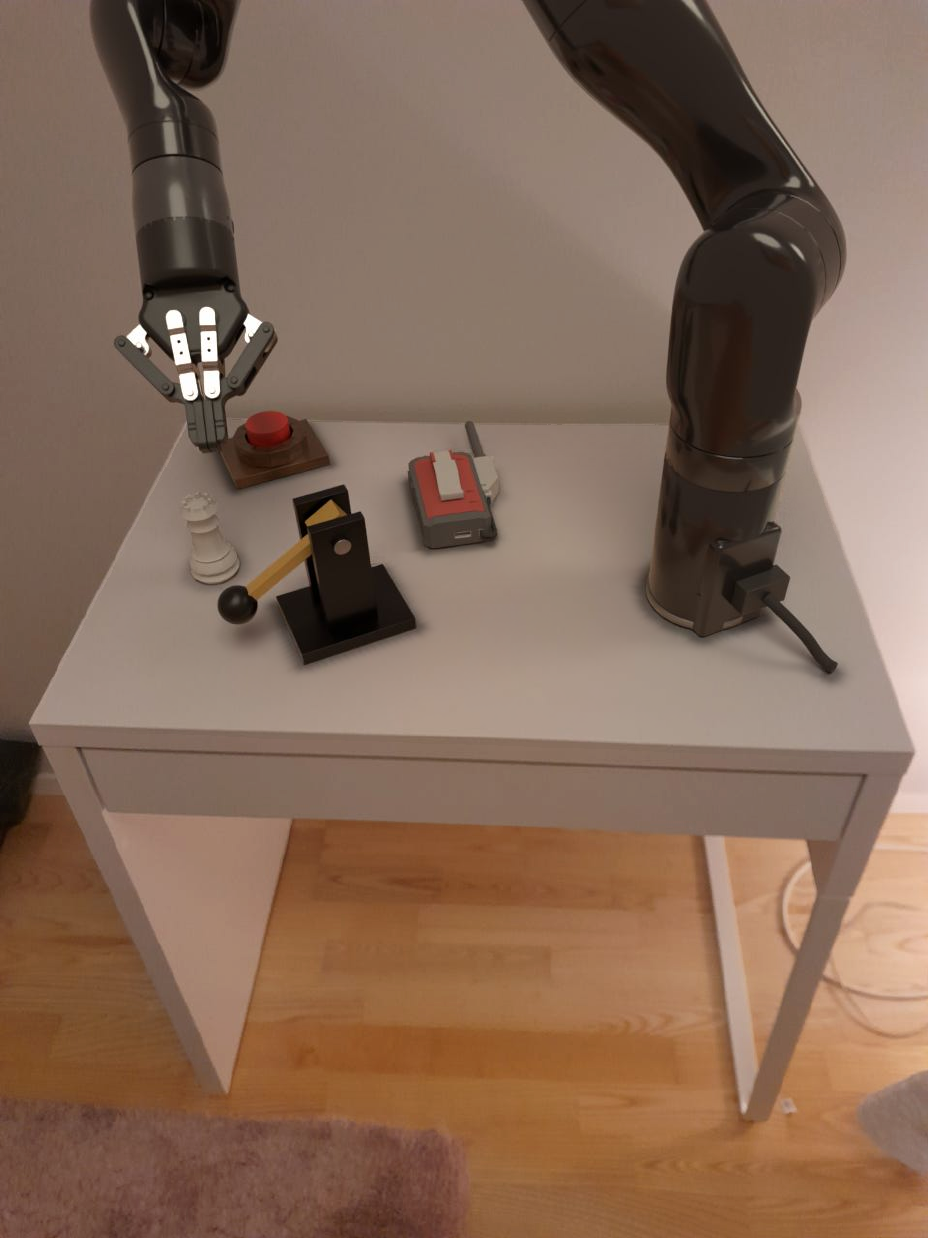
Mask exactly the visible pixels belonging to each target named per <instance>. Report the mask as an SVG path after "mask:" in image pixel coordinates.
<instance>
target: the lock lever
mask: <svg viewBox="0 0 928 1238" xmlns="http://www.w3.org/2000/svg"><path fill="white" fill-rule="evenodd" d="M345 515H347V514H346V513H345V512H344V511H343V510H342V509H341V508H340V507H339V506H338V505H337V504H335V503H334V502H333V501H332V500H330V501H328V502H327V503H326V504H325V505H324V506H323V507H321V508H320V509H319V510H318V511H317V512H315V513H314V514H313V515H312V516H311V517H310V518H308V519H307V520H306V521H305V523H306V525H307V526H311V525H314V524H317V523H321V522H324V521H328V520H331V519H335V518H338V517H342V516H345ZM311 554H312V552H311V546H310V541H309V536H308V534H307V535H306V536H305V537H303V538H302V539H301V540H300V539H299V541H297V542H296V543H295V544H294V545H293V546H292V547H290V548H289V549H288V550H287V551H285V553H284V554H282V555H281V556H280V557H279V558H277V559H276V560H275V561H274V562H272V564H270V565H269V566H268V567H267V568H266V569H264V570H263V571H261V573H259V575H257V576H256V577H255V578H254V579H253V580H251V581H249V583H248V584H247V585H246V586H244V585H239V584H236V585H231V586H228V587H226V588H224V590H222V592H221V593H220V594H219V596H218V597H217V601H216V602H217V603H216V607H217V612H218V614H219V616H220V618H222V619H223V621H225V622H226V623H228V624H230V625H234V626H235V625H237V626H238V625H240V626H241V625H244V624H247V623H249V622H250V621H251V620H253V619H254V617H255V616H256V615H257V612H258V609H259V602H258V600H259V599H261V598H262V597H263V596H264V595H265V594H266V593H267V592H269V591H270V590H271V589H272V588H273V587H275V586H276V585H277V584H278V583H279V582H281V581H282V580H283V579H284V578H285V577H287V576H288V575H289V574H290V573H291V572H293V571H294V570H295V569H296V568H297V567H298V566H299V565H301V564H302V563H303V562H305V561H304V560H305V559H307V558H308V557H309V556H310V555H311Z"/></svg>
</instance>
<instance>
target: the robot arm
mask: <svg viewBox="0 0 928 1238" xmlns="http://www.w3.org/2000/svg"><path fill="white" fill-rule="evenodd" d="M520 1H521V2H522V4H523V6H524V8H525V9H526V11H527V13H528V14H529V16H530V18H531V20H532V21H533V23H534V25H535V26H536V28H537V30H538V31H539V33H540V34H541V37H542V38H543V41H545V43H546V45H547V47H548V48H549V49H550V51H551V53H552V54H553V56H554V57H555V59H556V60H557V62H558V63H559V65H560V66H561V67H562V69H564V71H565V72H566V74H568V76H569V78H571V80H572V81H573V82H574V83H575V84H576V85H577V86H578V87H579V88H580V89H581V90H582V91H583V92H584V93H585V94H587V95H588V96H589V97H590V98H591V99H592V100H593V101H595V103H597V104H598V105H599V106H600V107H601V108H602V109H604V110H605V111H606V112H607V113H609V114H610V115H611V116H613V117H614V118H615V120H617V121H618V122H620V123H621V124H622V125H624V126H625V127H626V128H627V129H629V130H630V131H631V132H632V133H634V134H635V135H636V136H637V137H638V138H639V139H641V140H642V141H643V142H644V143H645V144H646V145H647V146H649V148H650V149H652V151H653V152H654V153H655V154H656V155H658V157H659V159H661V161H662V162H663V163H664V164H665V166H666V167H667V168H668V170H669V171H670V172H671V174H672V175H673V177H674V179H675V180H676V182H677V183H678V184H679V187H680V189H681V190H682V192H683V194H684V195H685V197H686V200H687V201H688V203H689V205H690V206H691V209H692V210H693V212H694V214H695V217H696V218H697V221H698V223H699V225H700V227H701V229H702V231H703V232H702V233H701V234H700V235H698V237H697V238H696V239H694V241H693V242H692V244H691V245H690V246H689V247H688V249H687V250H686V253H685V254H684V256H683V258H682V260H681V262H680V266H679V269H678V272H677V275H676V280H675V285H674V289H673V295H672V296H673V297H672V303H671V312H670V324H669V333H668V335H669V336H668V347H667V360H666V372H665V386H666V392H667V395H668V399H669V402H670V414H669V421H668V428H667V436H666V445H665V452H664V458H663V466H662V474H661V479H660V486H659V487H660V488H659V496H658V503H657V509H656V519H655V526H654V532H653V540H652V547H651V557H650V565H649V573H648V575H647V578H646V585H645V586H646V588H645V593H646V597H647V599H648V602H649V604H650V605H651V607H652V608H653V609H654V610H655V611H656V613H658V614H659V615H660V616H662V618H664V619H666V620H668V621H669V622H671V623H673V624H675V625H678V626H681V627H684V628H687V629H691V630H693V631H694V632H695V633H696V634H697V635H698V636H699V637H706V636H709V635H711V634H714V633H717V632H720V631H723V630H726V629H729V628H732V627H735V626H737V625H740V624H741V623H745V622H747V621H751V620H753V619H756V618H759V617H760V616H761V615H762V613H763V609H764V608H768V609H769V610H770V611H771V612H773V613H774V615H776V616H777V618H779V619H780V620H781V621H782V622H783V623H784V624H785V625H786V626H787V627H788V628H789V629H790V630H791V632H793V634H794V635H795V636H796V637H797V638H798V639H799V640H800V642H802V644H803V645H804V646H805V648H806V650H807V651H808V652H809V654H810V655H811V656H812V658H813V660H815V662H816V663H817V664H819V666H820V667H821V668H823V670H824V671H827V672H829V673H833V672H835V670H836V669H837V667H838V662H837V661H835V660H833V659H832V658H831V657H829V655H828V654H826V652H825V651H824V650H823V648H822V647H821V646H820V644H819V642H818V641H817V640H816V639H815V637H814V636H813V634H812V633H811V632H810V631H809V629H807V628H806V626H805V625H804V624H803V623H802V622H801V621H800V620H799V619H798V618H797V617H796V616H795V615H794V614H793V613H792V612H791V610H789V609H788V608H787V607H785V605H784V604H783V603H781V602H783V601H785V598H786V595H787V592H788V588H789V585H790V580H791V576H790V575H789V574H788V573H787V572H785V570H784V569H782V568H781V567H780V566H779V565H778V564H775V560H776V555H777V552H778V548H779V543H780V540H781V537H782V532H783V528H782V526H780V525H779V523H777V522H776V521H775V520H776V515H777V511H778V507H779V503H780V499H781V495H782V491H783V487H784V483H785V478H786V474H787V470H788V466H789V462H790V458H791V454H792V450H793V446H794V442H795V437H796V433H797V430H798V426H799V422H800V418H801V414H802V408H803V406H802V405H803V400H802V396H801V393H800V391H799V389H798V388H797V387H798V382H799V377H800V372H801V368H802V363H803V358H804V354H805V351H806V345H807V341H808V338H809V337H808V336H809V333H810V330H811V326H812V322H813V321H814V320H815V318H816V317H817V316H818V315H819V313H820V312H821V311H822V310H823V308H824V307H825V306H826V304H827V303H828V302H829V301H830V299H831V298H832V296H833V295H834V294H835V292H836V290H838V287H839V286H840V284H841V281H842V279H843V276H844V273H845V269H846V265H847V257H848V249H847V239H846V234H845V230H844V227H843V224H842V221H841V220H840V217H839V215H838V213H837V212H836V210H835V208H834V206H833V204H832V203H831V201H830V200H829V198H828V196H827V194H826V193H825V192H824V191H823V189H822V188H821V186H820V185H819V184H818V182H817V180H816V179H815V178H814V176H813V175H812V173H811V172H810V171H809V170H808V168H807V166H806V165H805V164H804V163H803V161H802V160H801V158H800V157H799V155H798V153H796V151H795V150H794V148H793V147H792V145H791V144H790V142H789V141H788V140H787V138H786V137H785V136H784V135H785V134H783V132H782V131H781V129H780V128H779V127H778V125H777V124H776V122H775V120H773V117H772V116H771V115H770V113H769V112H768V110H767V109H766V107H765V106H764V104H763V103H762V100H761V99H760V97H759V96H758V94H757V92H756V90H755V89H754V88H753V85H752V84H751V81H750V80H749V77H748V76H747V74H746V72H745V70H744V68H743V66H742V64H741V62H740V60H739V58H738V56H737V54H736V52H735V50H734V48H733V46H732V44H731V42H730V40H729V39H728V37H727V35H726V32H725V31H724V29H723V26H722V25H721V23H720V22H719V19H718V18H717V16H716V14H715V12H714V10H713V9H712V6H711V5H710V3H709V1H708V0H520ZM241 4H242V0H89V4H88V23H89V32H90V36H91V41H92V43H93V47H94V51H95V53H96V58H97V60H98V62H99V64H100V67H101V69H102V72H103V74H104V76H105V79H106V81H107V83H108V86H109V89H110V91H111V94H112V97H113V99H114V101H115V104H116V107H117V110H118V112H119V115H120V117H121V119H122V122H123V125H124V128H125V132H126V140H127V148H128V158H129V167H130V174H131V187H132V188H131V210H132V218H133V219H132V220H133V227H134V235H135V244H136V252H137V253H136V254H137V261H138V270H139V279H140V286H141V287H140V288H141V295H142V304H141V306H140V310H139V312H138V316H137V318H138V319H137V320H138V325H137V326H136V327H134V329H132V330H131V331H130V332H129V333H128V334H127V335H121V334H120V335H117V336H116V337H115V338H114V340H113V346H114V348H115V349H116V350H117V351H118V353H120V355H121V356H122V357H123V358H124V359H125V360H126V361H127V362H128V363H129V364H130V365H131V366H132V367H133V368H134V369H136V371H137V372H139V374H141V375H142V377H143V378H144V379H145V380H146V381H147V382H148V383H149V384H150V385H152V387H153V388H154V389H156V391H157V392H158V393H159V394H161V395H162V397H163V398H165V400H166V401H168V402H169V403H178V404H182V405H184V409H185V417H186V424H187V425H186V426H187V435H188V439H189V441H190V442H191V444H192V445H193V446H194V447H195V448H198V450H199V452H200V453H202V454H204V455H205V454H212V453H220V452H221V451H222V447H221V444H227V441H228V439H229V430H228V423H227V414H226V413H227V412H226V404H227V402H228V401H229V400H231V399H232V398H235V397H243V396H244V395H245V394H246V393H247V392H248V390H249V388H250V387H251V385H252V384H253V382H254V380H255V379H256V377H257V375H258V374H259V372H260V371H261V369H262V367H263V366H264V365H265V363H266V361H267V360H268V358H269V356H270V355H271V353H272V352H273V350H274V349H275V347H276V346H277V344H278V340H279V337H278V334H277V331H276V328H275V327H274V325H273V324H272V323H271V322H269V321H262V320H260V319H258V318H256V317H255V316H253V315H252V314H251V313H250V309H249V307H248V305H247V303H246V302H245V300H244V299H243V297H242V293H241V286H240V285H241V284H240V277H239V268H238V261H237V252H236V243H235V237H234V236H235V224H234V220H233V217H232V211H231V204H230V200H229V195H228V192H227V188H226V184H225V179H224V173H223V166H222V165H223V164H222V155H221V147H220V139H219V132H218V131H219V130H218V125H217V121H216V118H215V116H214V113H213V111H212V110H211V108H210V107H209V106H208V105H207V104H206V103H205V102H204V101H203V100H201V99H200V98H199V97H197V96H195V95H194V94H193V93H191V92H201V91H204V90H206V89H209V88H210V87H212V86H213V85H215V84H216V83H217V82H218V81H220V79H221V77H222V76H223V75H224V72H225V71H226V68H227V65H228V61H229V57H230V50H231V46H232V40H233V34H234V30H235V26H236V22H237V19H238V18H237V17H238V14H239V11H240V8H241ZM244 331H245V333H244ZM243 333H244V341H245V343H246V346H245V347H244V349H243V350H242V352H241V353H240V356H239V357H238V359H237V360H236V361H235V363H234V365H233V367H232V368H231V369H230V371H229V373H228V375H226V358H228V357H229V356H230V355H231V353H232V352H233V350H234V348H235V347H236V345H237V343H238V341H239V340H240V338H241V336H242V334H243ZM149 339H151V340H152V341H153V342H154V344H156V346H157V347H159V348H160V349H161V351H162V352H163V353H164V354H165V355H166V356H167V358H169V359H170V361H172V362H174V364H175V368H176V371H177V374H178V379H179V382H174V381H172V380H171V379H170V378H169V377H168V376H166V374H165V373H164V372H163V371H161V370H160V368H159V367H158V366H156V365H155V364H154V363H153V362H152V360H151V359H149V358H151V356H152V354H153V350H152V348H151V346H150V345H149ZM200 363H201V366H202V371H203V388H202V381H201V377H202V376H201V372H200V371H201V370H200V368H199V364H200Z"/></svg>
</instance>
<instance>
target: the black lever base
mask: <svg viewBox="0 0 928 1238" xmlns="http://www.w3.org/2000/svg"><path fill="white" fill-rule="evenodd" d="M291 500H292V505H293V511H294V515H295V521H296V526H297V530H298V535H299V541H300V540H301V539H302V538H303V537H305V536H306V535H307V534H308V536H309V541H310V546H311V552H312V554H311V555H310V556H309V557H308V558H307V559H305V560H304V561H303V562H304V566H305V572H306V576H307V581H308V586H305V587H301V588H298V589H295V590H292V591H288V592H285V593H282V594H279V595H276V596H275V599H276V603H277V607H278V609H279V612H280V614H281V616H282V618H283V620H284V623H285V625H286V627H287V630H288V632H289V634H290V637H291V638H292V640H293V643H294V645H295V647H296V650H297V652H298V654H299V657H300V659H301V661H302V662H303V665H304V666H306V665H308V664H311V663H314V662H318V661H321V660H324V659H327V658H329V657H333V656H336V655H339V654H342V653H345V652H349V651H351V650H354V649H357V648H361V647H364V646H366V645H369V644H372V643H375V642H378V641H382V640H386V639H388V638H390V637H393V636H396V635H400V634H403V633H405V632H409V631H413V630H415V629H417V623H416V617H415V616H414V614H413V612H412V611H411V609H410V607H409V605H408V604H407V602H406V600H405V599H404V597H403V596H402V594H401V592H400V590H399V589H398V587H397V585H396V584H395V582H394V581H393V579H392V577H391V575H390V574H389V572H388V569H386V567H385V565H384V564H383V563H380V564H376V565H374V566H372V562H371V556H370V555H371V554H370V546H369V539H368V533H367V532H368V531H367V524H366V517H365V516H364V514H363V513H362V511H361V510H359V511H355V512H352V509H351V500H350V494H349V490H348V488H347V486H346V485H345V484H341V485H338V486H337V485H336V486H333V487H330V488H329V487H328V488H325V489H322V490H319V491H314V492H311V493H308V494H307V493H306V494H305V495H301V496H300V495H299V496H297V497H293V498H292V499H291ZM330 500H332V501H333V502H334V503H335V504H337V505H338V506H339V507H340V508H341V509H342V510H343V511H344V512H345V513H346V514H347V515H345V516H342V517H338V518H335V519H331V520H328V521H324V522H321V523H317V524H314V525H311V526H307V525H306V523H305V521H306V520H307V519H308V518H310V517H311V516H312V515H313V514H314V513H315V512H317V511H318V510H319V509H320V508H321V507H323V506H324V505H325V504H326V503H327V502H328V501H330Z"/></svg>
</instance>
